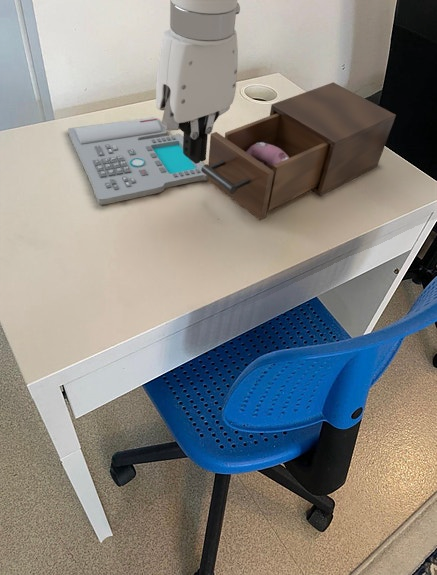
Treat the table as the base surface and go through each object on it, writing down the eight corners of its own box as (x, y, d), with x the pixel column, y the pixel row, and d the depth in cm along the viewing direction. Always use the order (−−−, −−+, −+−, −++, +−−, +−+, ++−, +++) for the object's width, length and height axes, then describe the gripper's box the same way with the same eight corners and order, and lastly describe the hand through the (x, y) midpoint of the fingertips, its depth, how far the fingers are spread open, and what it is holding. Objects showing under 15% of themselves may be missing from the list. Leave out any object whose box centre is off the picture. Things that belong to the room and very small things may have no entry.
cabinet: (320, 196, 87) (335, 142, 79) (262, 157, 94) (271, 104, 86) (377, 166, 95) (396, 114, 87) (320, 132, 102) (333, 82, 94)
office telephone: (65, 121, 92) (166, 107, 99) (67, 134, 94) (167, 119, 100) (98, 192, 78) (214, 170, 85) (99, 206, 80) (213, 183, 86)
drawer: (240, 230, 77) (247, 183, 71) (187, 188, 84) (189, 141, 77) (323, 188, 87) (336, 143, 80) (270, 152, 93) (278, 108, 87)
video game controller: (285, 200, 84) (305, 162, 81) (271, 199, 81) (291, 159, 78) (245, 172, 89) (262, 136, 86) (229, 170, 85) (247, 132, 82)
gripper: (229, -1, 62) (217, 131, 76) (129, 19, 55) (135, 161, 69) (271, 20, 59) (250, 154, 72) (169, 44, 52) (167, 188, 65)
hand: (194, 157), depth 70 cm, fingers closed
